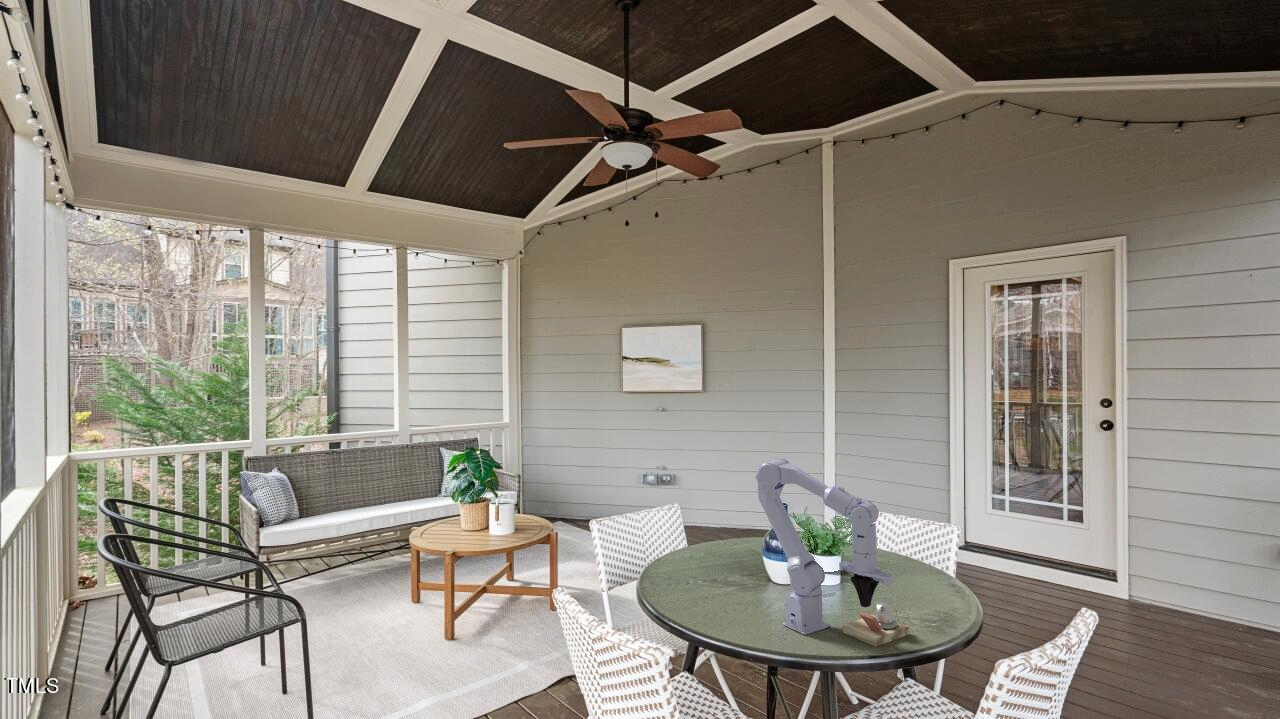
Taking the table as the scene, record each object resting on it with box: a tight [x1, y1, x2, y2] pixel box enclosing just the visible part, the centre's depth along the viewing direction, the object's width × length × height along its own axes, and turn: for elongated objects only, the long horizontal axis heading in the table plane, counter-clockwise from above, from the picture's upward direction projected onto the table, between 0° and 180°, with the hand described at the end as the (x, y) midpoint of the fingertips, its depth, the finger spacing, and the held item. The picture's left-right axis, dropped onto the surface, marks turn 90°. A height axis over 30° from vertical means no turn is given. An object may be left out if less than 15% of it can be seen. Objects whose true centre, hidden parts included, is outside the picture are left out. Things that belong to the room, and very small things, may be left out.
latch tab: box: [859, 611, 882, 631], centre depth 159 cm, size 4×4×1 cm
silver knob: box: [875, 601, 898, 631], centre depth 161 cm, size 6×6×7 cm
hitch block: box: [842, 613, 910, 648], centre depth 161 cm, size 13×10×2 cm
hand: (865, 605), depth 158 cm, fingers closed
